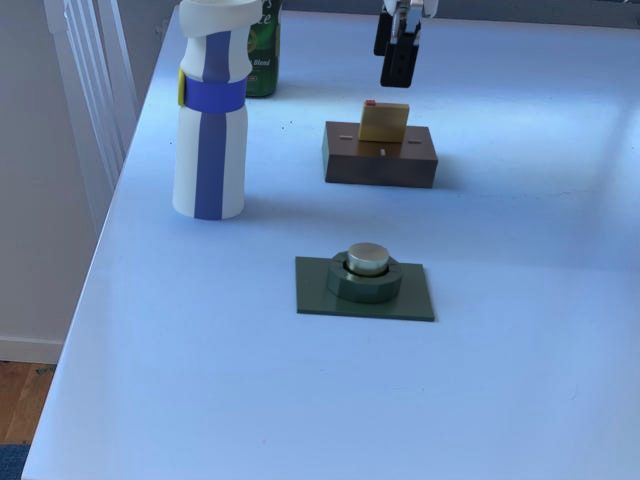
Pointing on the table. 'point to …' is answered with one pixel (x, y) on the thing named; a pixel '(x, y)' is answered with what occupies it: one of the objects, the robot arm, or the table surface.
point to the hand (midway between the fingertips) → (390, 70)
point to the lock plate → (378, 157)
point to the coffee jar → (264, 50)
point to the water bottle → (213, 107)
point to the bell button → (367, 260)
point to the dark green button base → (361, 290)
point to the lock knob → (383, 121)
